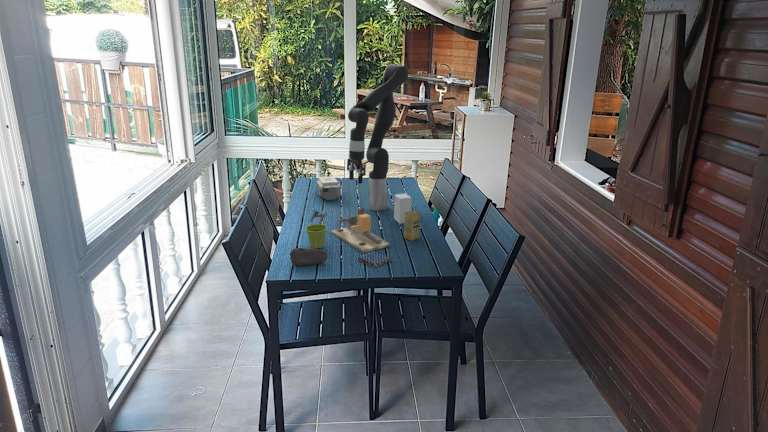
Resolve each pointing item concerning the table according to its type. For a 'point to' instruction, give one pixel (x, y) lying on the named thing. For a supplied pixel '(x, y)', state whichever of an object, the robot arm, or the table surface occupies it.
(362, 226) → the block
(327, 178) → the grey lidded box
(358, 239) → the board
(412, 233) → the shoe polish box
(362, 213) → the hand axe
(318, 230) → the plant pot
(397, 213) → the small box
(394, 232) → the table surface
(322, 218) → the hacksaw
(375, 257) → the woven mat
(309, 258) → the perforated stone tool
